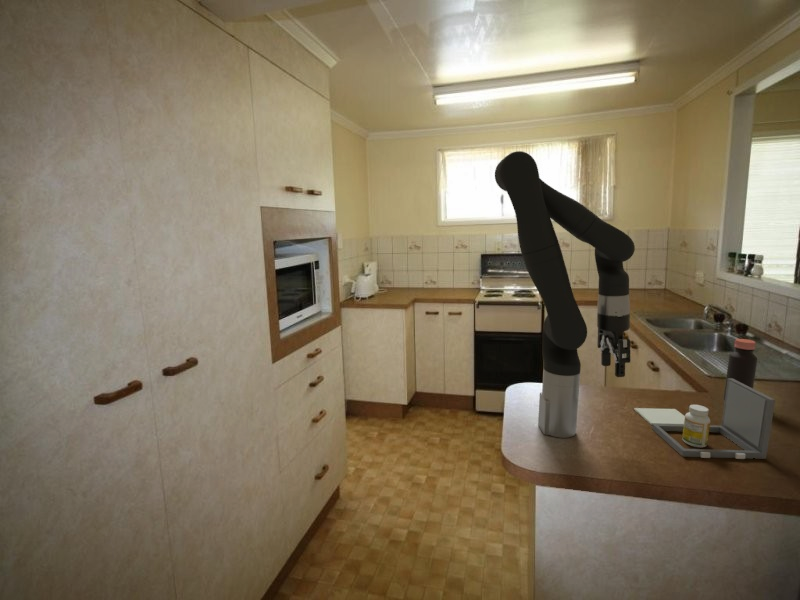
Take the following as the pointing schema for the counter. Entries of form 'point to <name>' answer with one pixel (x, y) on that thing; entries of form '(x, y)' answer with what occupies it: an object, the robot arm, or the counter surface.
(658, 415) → the mat
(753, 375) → the vinegar
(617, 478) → the counter surface
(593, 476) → the counter surface
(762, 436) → the access hatch
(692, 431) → the supplement bottle
